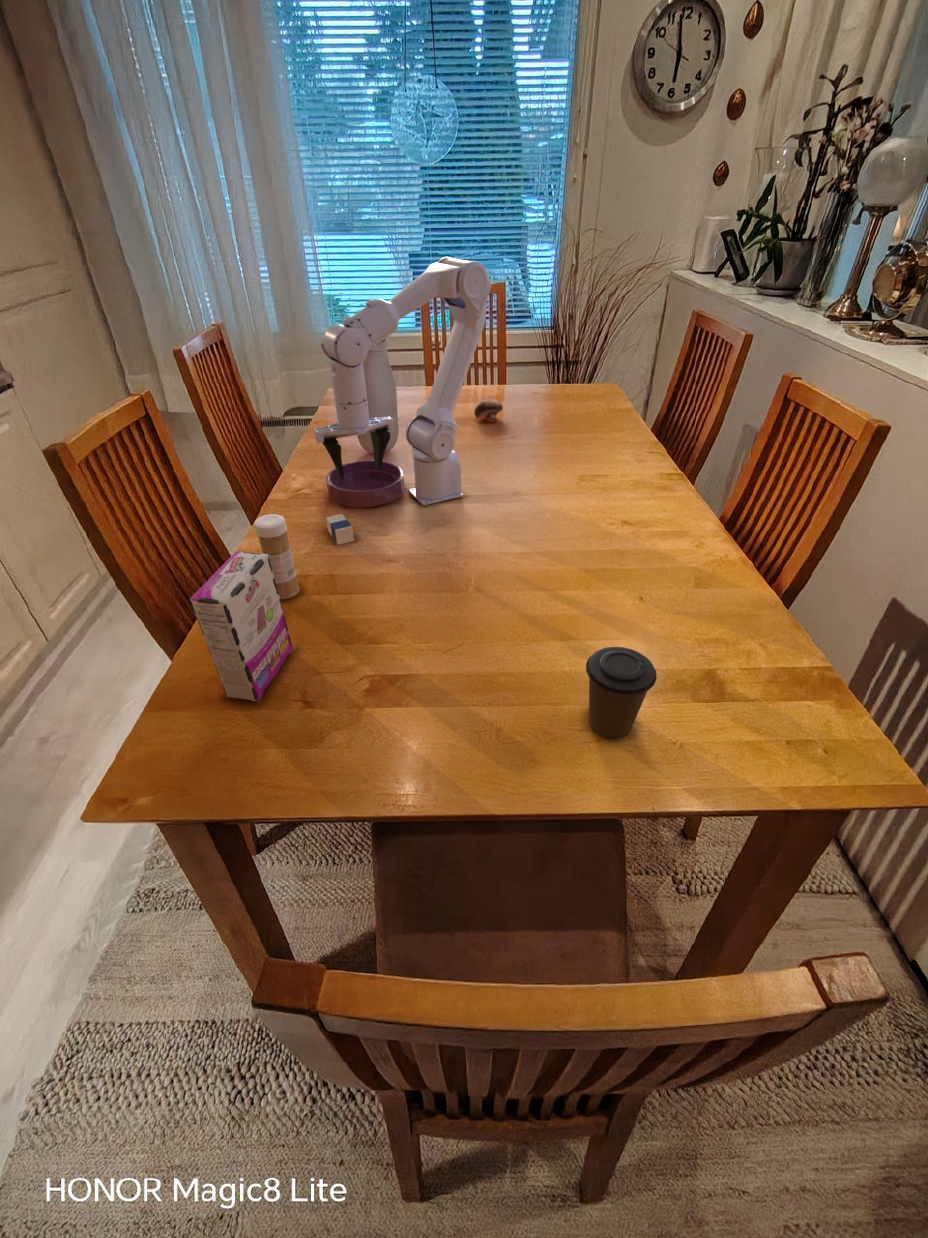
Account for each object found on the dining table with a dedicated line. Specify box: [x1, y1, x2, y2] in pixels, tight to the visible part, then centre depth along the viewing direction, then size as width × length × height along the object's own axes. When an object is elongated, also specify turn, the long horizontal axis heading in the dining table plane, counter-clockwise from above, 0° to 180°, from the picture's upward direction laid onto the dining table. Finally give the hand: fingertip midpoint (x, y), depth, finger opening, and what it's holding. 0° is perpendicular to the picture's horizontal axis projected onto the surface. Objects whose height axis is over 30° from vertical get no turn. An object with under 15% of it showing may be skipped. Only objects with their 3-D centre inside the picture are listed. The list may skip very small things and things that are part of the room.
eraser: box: [325, 513, 355, 546], centre depth 112 cm, size 6×3×3 cm, turn 27°
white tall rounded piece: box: [356, 338, 400, 454], centre depth 138 cm, size 10×10×28 cm
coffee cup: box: [585, 646, 658, 740], centre depth 71 cm, size 8×8×10 cm
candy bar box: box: [189, 550, 294, 703], centre depth 77 cm, size 11×5×16 cm, turn 168°
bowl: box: [325, 460, 405, 508], centre depth 127 cm, size 16×16×4 cm
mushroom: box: [474, 398, 504, 423], centre depth 163 cm, size 8×8×6 cm
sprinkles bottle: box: [254, 513, 300, 600], centre depth 93 cm, size 5×5×14 cm
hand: (359, 471), depth 114 cm, fingers open, 7 cm apart
